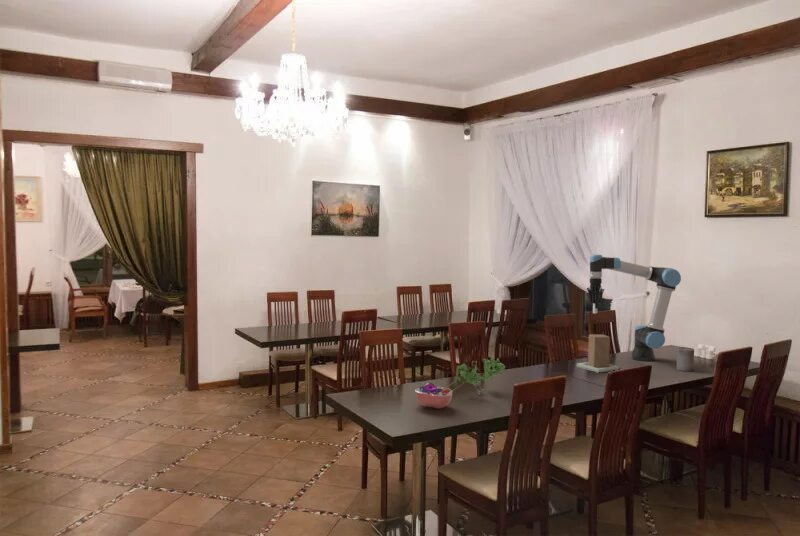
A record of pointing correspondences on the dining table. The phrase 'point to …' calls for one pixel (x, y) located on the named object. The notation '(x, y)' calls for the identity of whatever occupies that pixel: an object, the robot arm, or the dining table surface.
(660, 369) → the dining table surface
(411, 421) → the dining table surface
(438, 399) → the cell model
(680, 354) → the pillar candle
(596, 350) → the wooden block
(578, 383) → the dining table surface
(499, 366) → the plant cuttings
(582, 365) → the square tray
